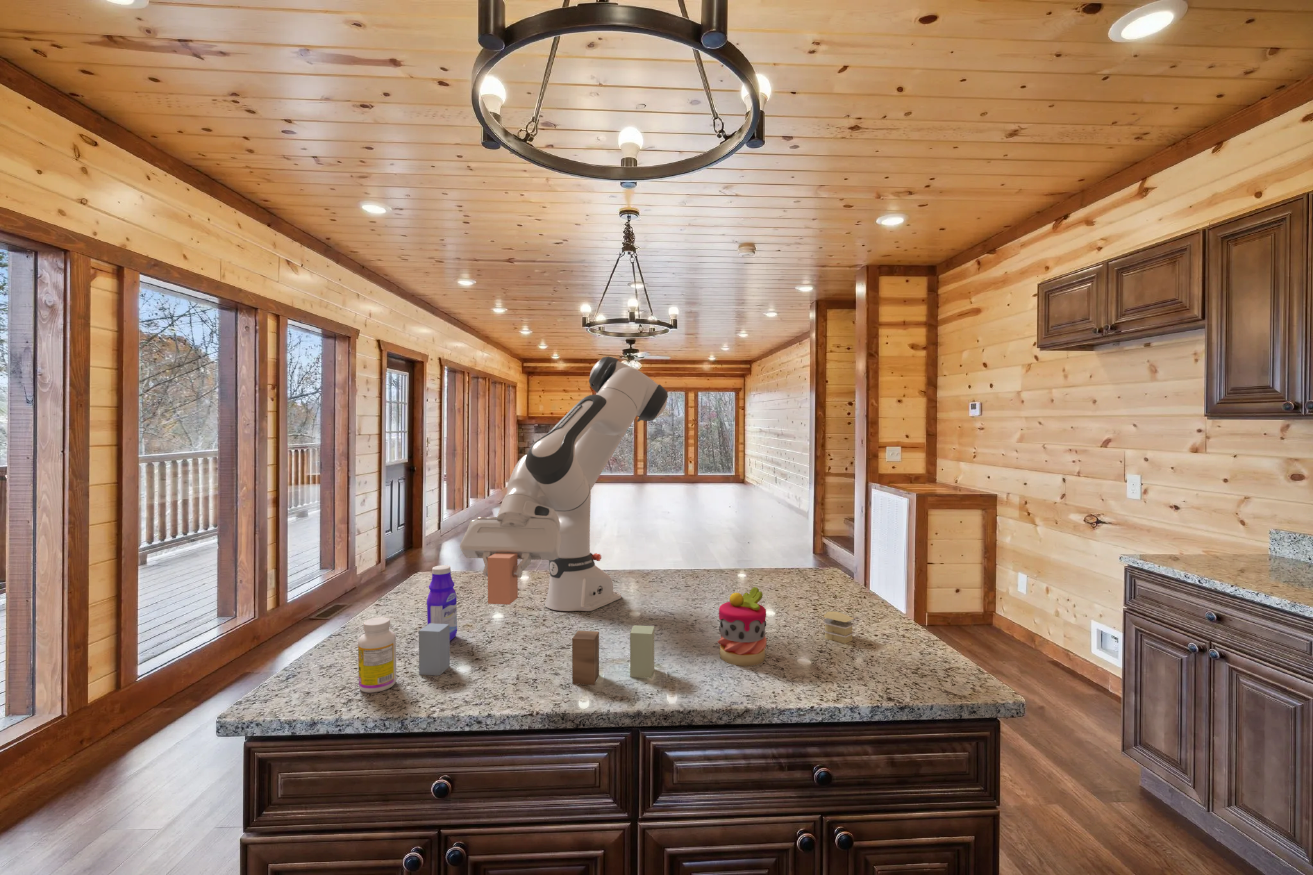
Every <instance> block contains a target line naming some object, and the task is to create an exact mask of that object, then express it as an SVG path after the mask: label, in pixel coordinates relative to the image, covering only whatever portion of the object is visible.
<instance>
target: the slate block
mask: <svg viewBox="0 0 1313 875" xmlns="http://www.w3.org/2000/svg"><path fill="white" fill-rule="evenodd" d="M450 641H451V640H450V633H449V624H432V623H429V624H428V625H427V624H426V625H425V626H423V627H422V628H420V629H419V630H418V675H422V676H439V677H440V676H441V675H442V674H443V673H445V671H446V670H448V669H449V668H450V667H451V666H450V663H451V662H450V660H451V659H450V658H451V657H450V656H451V655H450Z"/></svg>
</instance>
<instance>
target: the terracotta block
mask: <svg viewBox="0 0 1313 875" xmlns="http://www.w3.org/2000/svg"><path fill="white" fill-rule="evenodd" d="M518 561H519V559H518V557H517V553H495V554H493V555H491V556H490V557H488V577H487V604H488V605H511V604H512V603H513V602H515V601H516V600H517V599H518V598H519V597H518V596H519V593H518V591H519V588H518V587H519V586H518V585H519V584H518V583H519V582H518V581H519V580H518V579H519V578H517V577H513V575H512V570H513V566H518V565H519V563H518Z"/></svg>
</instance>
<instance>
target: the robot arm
mask: <svg viewBox="0 0 1313 875" xmlns="http://www.w3.org/2000/svg"><path fill="white" fill-rule="evenodd" d="M589 373H590V374H589V379H588V383H589V387H591V389H592V390H593V391H594V392H595V393H596V394H590V395H587V396H585V397H583V398H582V399H581V400H579V401H578V402H577V403H576V404H575V405H574V406H573V407H572V408H570V410H569V411H568V412H567V413H566V414H565V415H564V416H563V417H562V418H561V419H560V420H559V421H558V422H557V423H556V424H555V426H553V428H552V429H550V431H548V432H547V433H546V434H545V435H542V437H540V438H539V439H537V440H536V441H535V442H533V443H532V445H531V446H530V448H529V449H528V450H527V453H526V454H525V455H523V456H522V457H521V458H519V460H518V461H517V462H516V464H515V466H514V468H513V470H512V472H511V475H510V478H509V479H508V482H507V486H506V487H507V488H506V493H505V496H504V497H503V498H502V502H501V504H500V506H499V510H498V514H497V515H496V516H489V517H486V516H478V517H477V518H475V519H473V520H471V521H470V522H469V524H468V527H467V530H466V531H465V533H464V535H463V537H462V540H461V541H460V544H459V549H460V551H461V553H462V555H463V556H464V557H465V558H467V559H482V560H483V563H484V568H483V572H482V574H483V575H484V577H487V578H488V557H490V556H491V555H493V554H495V553H517V557H518V560H520V562H519V563H518V566H513V570H512V575H513V577H517V578H518V579H520V578H522V575H523V573H524V572H523V571H525V570H526V568H528V567H529V566H530V565H531V563H532V561H548V571H549V584H548V589H547V594H546V598H545V602H544V605H545V607H546V608H547V609H550V610H554V611H561V612H574V611H575V612H576V611H578V612H579V611H580V612H581V611H582V612H593V611H595V610H597V609H598V608H601V607H604V606H607V605H608V604H611V603H614V602H615V601H616V602H617V601H618V600H620V599H622V594H621V593H620V592H619V591H617V590H615V589H614V583H613V580H612V577H611V576H610V575H609V574H608V573H607V572H605V571H604V570H602V569H601V568H600V567H598V566H597V565H596V563H595V561H596V562H600V561H601V559H602V555H601V553H597V552H595V553H594V554H593V553H592V552H591V536H590V535H591V503H592V502H591V497H592V495H591V492H592V489H593V487H594V485H596V482H597V481H598V479H599V477H600V476H601V474H602V472H603V471H604V469H605V467H606V465H607V464H608V463H609V461H610V459H611V458H612V456H613V454H614V452H615V451H616V449H617V447H618V446H619V444H620V443H621V441H622V440H623V438H624V437H625V434H626V433H627V431H628V429H629V428H630V427H631V425H632V424H633V423H634V421H635V419H636V417H637V420H636V422H640V421H644V422H650V421H654V420H655V419H657V418H658V417H660V416H661V414H662V413H663V412H664V411H665V409H666V406H667V404H668V398H669V394H668V393H669V392H668V391H667V390H666V389H665V387H663V386H662V385H661V384H660V383H659V384H658V383H657V382H656V381H654V380H653V379H651V377H649V376H648V375H646V374H645V373H643V372H642V371H640V370H639V369H637V368H635V367H632V366H631V365H628V364H626V363H624V362H622V361H619V359H617V358H616V357H613V356H609V355H608V356H603V357H602V358H601V359H600V360H598V361H597V362H596V363H594V365H593V367H592V369H591V370H590V372H589Z"/></svg>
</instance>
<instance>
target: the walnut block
mask: <svg viewBox="0 0 1313 875" xmlns="http://www.w3.org/2000/svg"><path fill="white" fill-rule="evenodd" d="M571 646H572V649H571V650H572V651H571V659H572V660H571V661H572V662H571V663H572V664H571V665H572V672H571V674H572V676H571V677H572V678H571V681H572V683H571V684H572V685H585V686H586V685H587V686H595V685H596V682H597V680H598V678H599V677H600V631H595V630H593V631H591V630H577V631H576V633H575V634H574V635H573V637H572V639H571Z"/></svg>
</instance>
